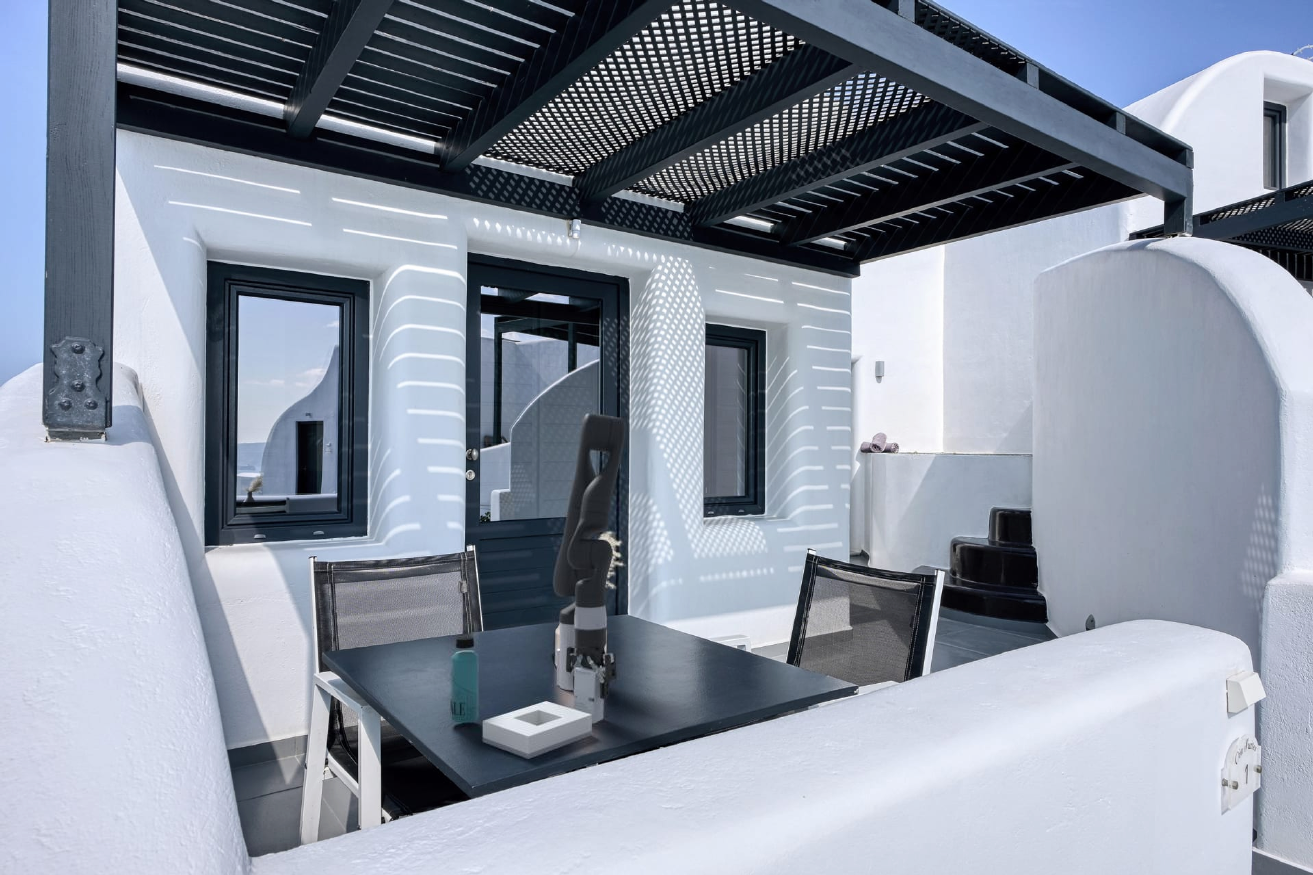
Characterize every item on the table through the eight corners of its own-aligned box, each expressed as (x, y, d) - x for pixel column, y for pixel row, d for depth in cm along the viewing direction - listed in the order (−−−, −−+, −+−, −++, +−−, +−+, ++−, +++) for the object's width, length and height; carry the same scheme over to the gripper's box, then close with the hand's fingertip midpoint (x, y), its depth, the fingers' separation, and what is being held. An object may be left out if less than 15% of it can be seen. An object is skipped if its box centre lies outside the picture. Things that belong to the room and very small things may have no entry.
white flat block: (482, 741, 169) (482, 720, 169) (546, 720, 183) (546, 701, 183) (528, 759, 159) (528, 736, 160) (591, 735, 173) (591, 714, 173)
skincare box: (572, 720, 183) (572, 667, 184) (583, 715, 187) (583, 663, 187) (594, 724, 180) (594, 671, 180) (605, 719, 184) (605, 666, 184)
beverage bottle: (481, 720, 184) (482, 633, 184) (476, 729, 177) (476, 640, 177) (453, 720, 183) (454, 634, 184) (447, 730, 177) (447, 640, 177)
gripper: (623, 626, 183) (624, 696, 182) (580, 619, 192) (580, 686, 191) (601, 631, 177) (601, 704, 176) (557, 623, 186) (558, 693, 185)
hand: (590, 695), depth 184 cm, fingers open, 8 cm apart
